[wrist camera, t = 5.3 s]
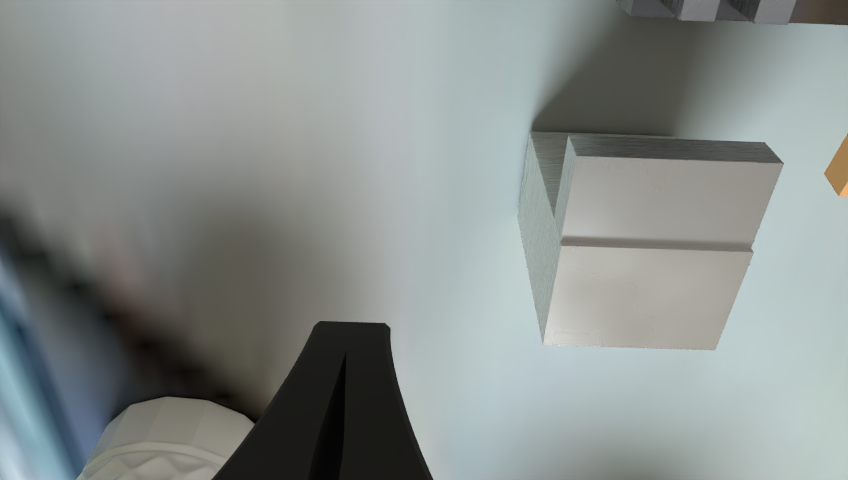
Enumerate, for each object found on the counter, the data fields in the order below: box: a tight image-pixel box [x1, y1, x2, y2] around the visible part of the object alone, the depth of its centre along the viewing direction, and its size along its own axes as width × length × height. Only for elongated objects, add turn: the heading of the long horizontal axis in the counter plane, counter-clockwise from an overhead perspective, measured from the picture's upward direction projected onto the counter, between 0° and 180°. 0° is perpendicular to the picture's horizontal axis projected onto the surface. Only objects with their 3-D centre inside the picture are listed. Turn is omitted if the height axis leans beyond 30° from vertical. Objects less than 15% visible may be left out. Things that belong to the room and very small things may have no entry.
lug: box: [518, 131, 784, 350], centre depth 16 cm, size 4×5×5 cm
